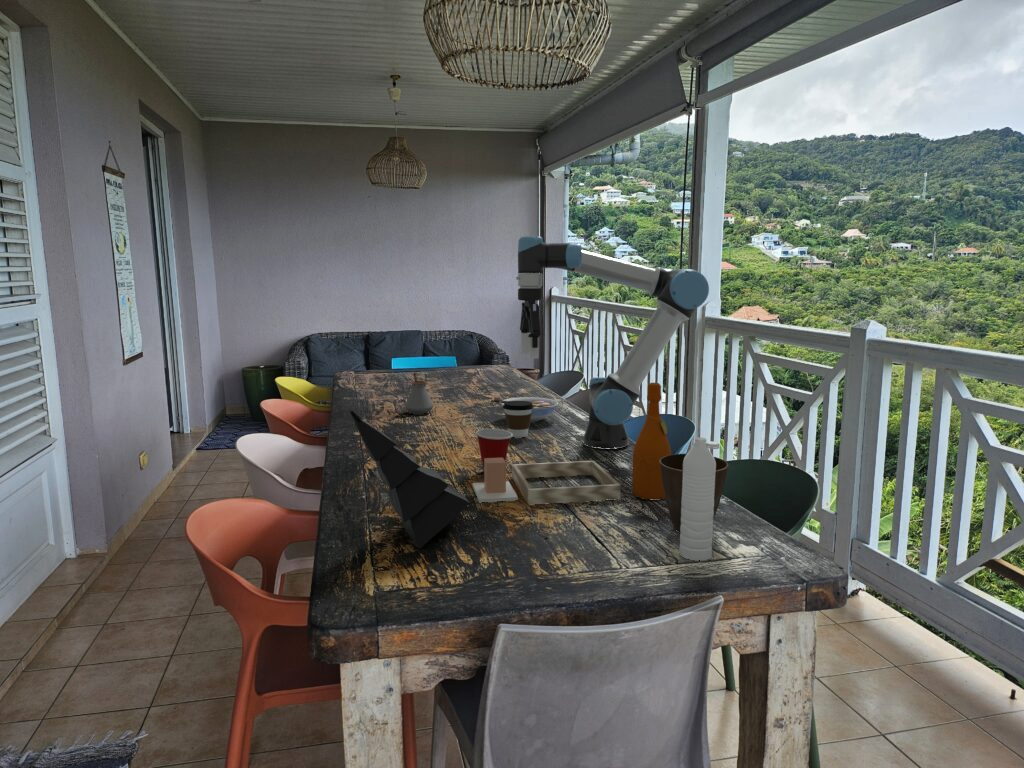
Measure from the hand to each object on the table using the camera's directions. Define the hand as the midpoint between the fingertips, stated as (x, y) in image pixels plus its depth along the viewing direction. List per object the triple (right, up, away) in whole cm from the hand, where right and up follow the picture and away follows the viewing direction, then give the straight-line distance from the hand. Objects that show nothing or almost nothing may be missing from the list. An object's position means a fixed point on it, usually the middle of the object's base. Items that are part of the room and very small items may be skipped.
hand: (529, 355), depth 222 cm
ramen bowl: (+1, -23, +55) cm, 60 cm away
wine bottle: (+31, -38, -37) cm, 61 cm away
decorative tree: (-28, -43, -66) cm, 84 cm away
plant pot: (+35, -42, -61) cm, 82 cm away
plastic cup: (-11, -35, -15) cm, 39 cm away
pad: (-10, -38, -35) cm, 52 cm away
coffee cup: (-3, -28, +30) cm, 41 cm away
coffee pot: (-45, -20, +75) cm, 90 cm away
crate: (+8, -37, -31) cm, 49 cm away
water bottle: (+33, -45, -76) cm, 94 cm away
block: (-10, -37, -35) cm, 52 cm away
